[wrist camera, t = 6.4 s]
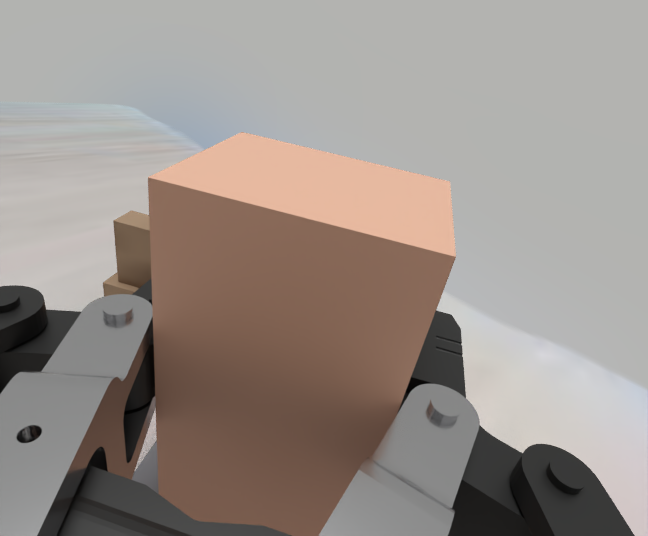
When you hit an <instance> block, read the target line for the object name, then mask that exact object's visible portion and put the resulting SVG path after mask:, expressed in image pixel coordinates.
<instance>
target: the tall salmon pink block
mask: <svg viewBox="0 0 648 536" xmlns="http://www.w3.org/2000/svg"><path fill="white" fill-rule="evenodd" d="M148 190H149V220H150V250H151V280H152V310H153V340H154V371H155V401H156V431H157V461H158V491H159V495H160V496H162V497H163V498H165V499H166V500H167V501H169V502H170V503H171V504H173V505H174V506H175V507H177V508H178V509H180V510H181V511H182V512H184V513H185V514H186V515H188V516H189V517H191V518H192V519H194V520H197V521H202V522H217V523H232V524H247V525H263V526H266V527H269V528H272V529H275V530H278V531H280V532H283V533H286V534H289V535H292V536H319V534H320V532H321V531H322V529H323V527H324V526H325V524H326V522H327V521H328V519H329V517H330V516H331V514H332V513H333V511H334V509H335V508H336V506H337V504H338V503H339V501H340V499H341V498H342V496H343V494H344V493H345V491H346V489H347V488H348V486H349V485H350V483H351V481H352V480H353V478H354V476H355V475H356V473H357V471H358V470H359V468H360V466H361V465H362V463H363V462H364V461H365V459H366V458H367V457H369V458H371V457H372V456H373V454H374V453H375V451H376V449H377V448H378V446H379V444H380V443H381V441H382V439H383V438H384V436H385V434H386V432H387V431H388V429H389V427H390V426H391V424H392V422H393V421H394V419H395V417H396V416H397V413H398V411H399V408H400V405H401V402H402V400H403V397H404V394H405V392H406V389H407V386H408V384H409V381H410V378H411V376H412V373H413V370H414V368H415V365H416V362H417V360H418V357H419V354H420V352H421V349H422V346H423V344H424V341H425V338H426V336H427V333H428V330H429V328H430V325H431V322H432V319H433V317H434V314H435V311H436V309H437V306H438V303H439V301H440V298H441V295H442V293H443V290H444V287H445V285H446V282H447V279H448V277H449V274H450V271H451V268H452V266H453V263H454V260H455V258H456V253H455V240H454V227H453V215H452V202H451V190H450V182H449V181H445V180H441V179H437V178H432V177H428V176H424V175H420V174H416V173H411V172H407V171H403V170H399V169H395V168H391V167H387V166H382V165H378V164H374V163H370V162H366V161H361V160H357V159H353V158H349V157H345V156H340V155H336V154H332V153H327V152H324V151H319V150H315V149H311V148H307V147H303V146H298V145H294V144H290V143H286V142H281V141H278V140H273V139H269V138H265V137H261V136H257V135H252V134H248V133H244V132H241V133H239V134H237V135H235V136H233V137H231V138H229V139H227V140H224V141H222V142H220V143H218V144H216V145H214V146H212V147H210V148H208V149H206V150H204V151H202V152H200V153H197V154H195V155H193V156H191V157H189V158H187V159H185V160H183V161H181V162H179V163H177V164H175V165H173V166H171V167H168V168H166V169H164V170H162V171H160V172H158V173H156V174H154V175H152V176H150V177H148Z"/></svg>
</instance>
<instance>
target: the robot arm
mask: <svg viewBox="0 0 648 536" xmlns="http://www.w3.org/2000/svg"><path fill="white" fill-rule="evenodd" d="M461 343H462V341H461V329H460V327H459V326H458V324H457V323H456V321H455V319H454V318H453V316H452V315H450V314H446V313H443V312H439V311H435V314H434V317H433V319H432V322H431V325H430V328H429V330H428V333H427V336H426V338H425V341H424V344H423V346H422V349H421V352H420V354H419V357H418V360H417V362H416V365H415V368H414V370H413V373H412V376H411V378H410V381H409V384H408V386H407V389H406V392H405V394H404V397H403V400H402V402H401V405H400V408H399V411H398V413H397V416H396V417H395V419H394V421H393V422H392V424H391V426H390V427H389V429H388V431H387V432H386V434H385V436H384V438H383V439H382V441H381V443H380V444H379V446H378V448H377V449H376V451H375V453H374V454H373V456H372V457H371V458H369V457H367V458H366V459H365V461H364V462H363V463H362V465H361V466H360V468H359V470H358V471H357V473H356V475H355V476H354V478H353V480H352V481H351V483H350V485H349V486H348V488H347V489H346V491H345V493H344V494H343V496H342V498H341V499H340V501H339V503H338V504H337V506H336V508H335V509H334V511H333V513H332V514H331V516H330V517H329V519H328V521H327V522H326V524H325V526H324V527H323V529H322V531H321V532H320V534H319V536H634V534H633V532H632V531H631V529H630V528H629V526H628V525H627V523H626V522H625V520H624V518H623V517H622V515H621V514H620V512H619V511H618V509H617V507H616V506H615V504H614V503H613V501H612V500H611V498H610V497H609V495H608V493H607V492H606V490H605V489H604V487H603V486H602V484H601V483H600V481H599V480H598V478H597V477H596V475H595V474H594V473H593V472H592V471H591V470H590V468H588V467H587V466H586V465H585V464H584V463H583V462H582V461H581V460H579V459H578V458H577V457H575V456H574V455H572V454H570V453H569V452H567V451H565V450H563V449H561V448H558V447H555V446H552V445H547V444H536V445H532V446H530V447H528V448H527V449H526V450H525V451H524V453H521V452H519V451H517V450H516V449H514V448H512V447H510V446H509V445H507V444H505V443H503V442H502V441H500V440H498V439H496V438H495V437H493V436H492V435H490V434H489V433H488V432H487V431H485V430H484V429H483V428H482V427H481V426H480V424H479V417H478V414H477V412H476V410H475V408H474V407H473V405H472V404H471V403H470V402H469V401H468V400H467V399H466V393H465V380H464V367H463V357H462V345H461ZM155 407H156V401H155V371H154V340H153V310H152V280H151V279H150V280H149V281H147V282H146V283H145V284H144V285H143V286H141V287H140V288H139V289H138V290H137V291H135V292H134V293H133V294H132V295H130V294H116V295H109V296H105V297H102V298H99V299H97V300H95V301H93V302H91V303H90V304H88V305H87V306H86V307H85V308H84V309H83V311H82V312H74V311H58V310H46V308H45V302H44V298H43V295H42V294H41V293H40V292H39V291H38V290H36V289H33V288H30V287H26V286H2V287H0V536H292V535H289V534H286V533H283V532H280V531H278V530H275V529H272V528H269V527H266V526H263V525H247V524H232V523H217V522H202V521H197V520H194V519H192V518H191V517H189V516H188V515H186V514H185V513H184V512H182V511H181V510H180V509H178V508H177V507H175V506H174V505H173V504H171V503H170V502H169V501H167V500H166V499H165V498H163V497H162V496H160V495H159V494H158V493H156V492H155V491H154V490H152V489H151V488H150V487H148V486H147V485H145V484H142V483H139V482H136V481H134V480H132V477H133V473H134V470H135V467H136V464H137V461H138V458H139V455H140V452H141V449H142V446H143V443H144V440H145V437H146V434H147V431H148V428H149V425H150V422H151V419H152V416H153V413H154V410H155Z"/></svg>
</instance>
